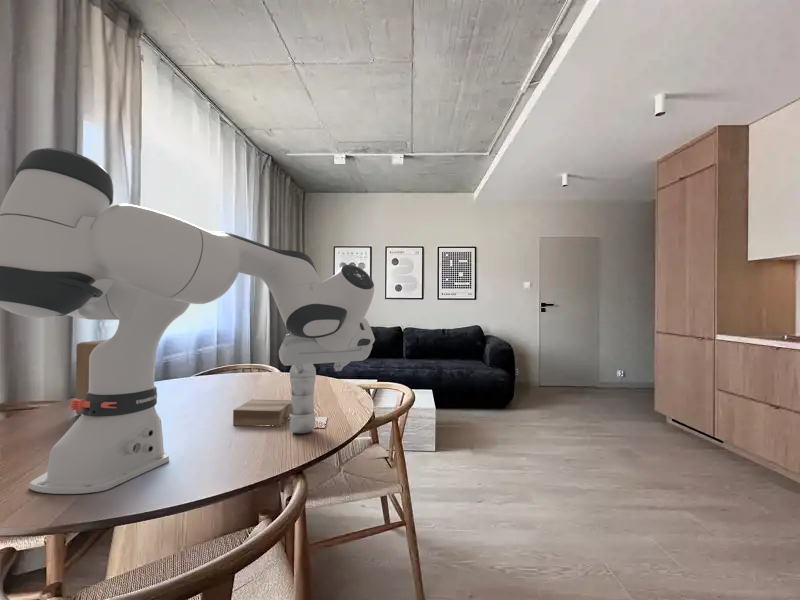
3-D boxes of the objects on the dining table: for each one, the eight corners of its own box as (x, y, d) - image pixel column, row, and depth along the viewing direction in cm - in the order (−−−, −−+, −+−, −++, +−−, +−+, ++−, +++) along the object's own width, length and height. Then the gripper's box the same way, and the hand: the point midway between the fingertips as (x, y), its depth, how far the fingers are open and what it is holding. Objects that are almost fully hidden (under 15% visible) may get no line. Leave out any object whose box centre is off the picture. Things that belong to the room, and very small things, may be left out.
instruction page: (325, 428, 112) (325, 426, 112) (292, 429, 111) (292, 427, 111) (327, 417, 122) (327, 416, 122) (297, 418, 121) (297, 417, 121)
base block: (279, 426, 113) (279, 411, 113) (233, 425, 114) (233, 409, 114) (293, 414, 125) (293, 400, 125) (251, 413, 126) (251, 399, 126)
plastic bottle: (283, 435, 106) (283, 351, 106) (296, 427, 113) (297, 348, 113) (307, 437, 104) (308, 352, 104) (320, 429, 111) (321, 349, 111)
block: (73, 415, 122) (74, 342, 122) (107, 407, 131) (108, 339, 131) (101, 418, 119) (102, 343, 119) (134, 410, 129) (134, 340, 129)
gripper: (289, 343, 87) (275, 385, 96) (381, 340, 98) (361, 377, 106) (283, 320, 91) (270, 362, 99) (372, 318, 102) (353, 357, 110)
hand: (318, 370), depth 103 cm, fingers open, 8 cm apart
